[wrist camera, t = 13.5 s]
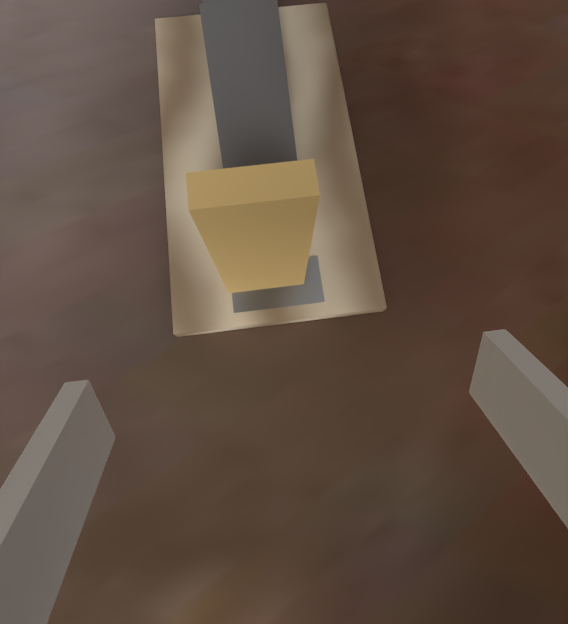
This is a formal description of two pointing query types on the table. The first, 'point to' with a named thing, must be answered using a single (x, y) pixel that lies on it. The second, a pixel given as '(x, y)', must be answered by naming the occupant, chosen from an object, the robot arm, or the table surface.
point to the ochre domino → (256, 221)
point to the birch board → (309, 145)
